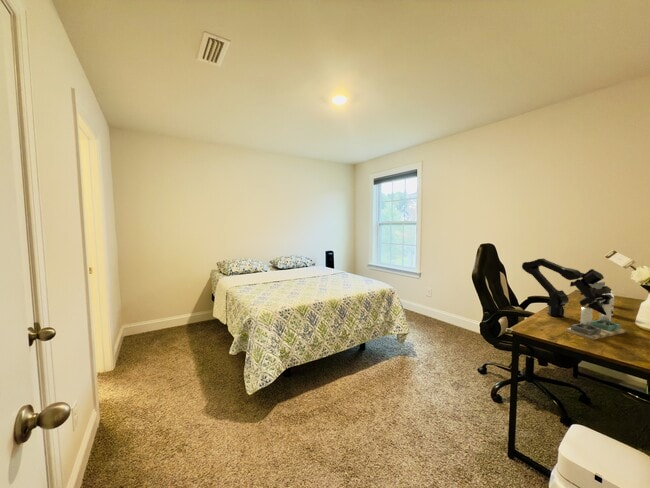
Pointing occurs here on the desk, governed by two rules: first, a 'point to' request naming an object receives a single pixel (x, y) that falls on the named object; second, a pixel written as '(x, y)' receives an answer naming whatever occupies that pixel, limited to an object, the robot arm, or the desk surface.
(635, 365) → the desk surface
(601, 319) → the billet
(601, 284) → the skincare box
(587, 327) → the block
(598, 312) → the ink cartridge box
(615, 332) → the pallet
